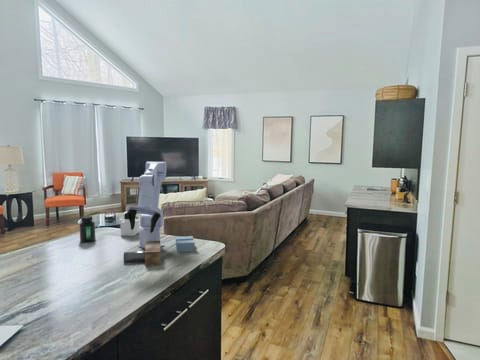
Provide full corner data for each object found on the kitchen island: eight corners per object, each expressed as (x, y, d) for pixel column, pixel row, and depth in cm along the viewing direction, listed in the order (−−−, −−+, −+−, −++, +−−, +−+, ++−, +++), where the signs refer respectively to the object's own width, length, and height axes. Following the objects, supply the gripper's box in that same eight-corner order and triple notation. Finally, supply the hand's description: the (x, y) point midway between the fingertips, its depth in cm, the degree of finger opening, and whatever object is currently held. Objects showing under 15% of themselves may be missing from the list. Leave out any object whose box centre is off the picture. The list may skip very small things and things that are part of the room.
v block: (176, 252, 142) (176, 243, 142) (175, 245, 152) (175, 237, 151) (194, 251, 144) (194, 242, 143) (192, 244, 154) (192, 236, 153)
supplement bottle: (91, 242, 154) (90, 218, 152) (77, 242, 153) (76, 218, 152) (97, 238, 160) (96, 215, 159) (84, 238, 160) (83, 215, 159)
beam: (145, 265, 126) (144, 252, 126) (146, 253, 140) (146, 241, 139) (160, 264, 128) (160, 251, 127) (160, 252, 141) (160, 240, 141)
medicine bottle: (139, 232, 172) (138, 210, 171) (133, 236, 165) (133, 213, 164) (126, 231, 173) (126, 210, 171) (120, 235, 166) (119, 213, 164)
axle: (123, 264, 129) (123, 256, 128) (124, 258, 133) (124, 250, 131) (159, 261, 133) (159, 253, 131) (159, 256, 136) (159, 248, 135)
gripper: (130, 191, 126) (126, 223, 119) (165, 199, 133) (163, 229, 126) (125, 199, 131) (121, 230, 124) (159, 206, 138) (157, 235, 131)
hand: (142, 230), depth 125 cm, fingers open, 7 cm apart
